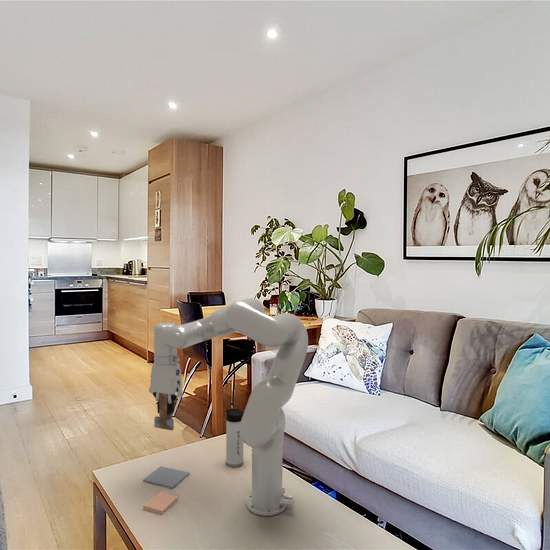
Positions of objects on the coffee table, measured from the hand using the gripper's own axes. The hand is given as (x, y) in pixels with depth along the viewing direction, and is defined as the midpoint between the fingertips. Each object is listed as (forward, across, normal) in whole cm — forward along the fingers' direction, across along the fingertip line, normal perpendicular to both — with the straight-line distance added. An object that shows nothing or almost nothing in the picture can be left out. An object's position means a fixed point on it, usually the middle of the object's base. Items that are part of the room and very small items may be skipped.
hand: (165, 412), depth 145 cm
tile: (+23, -8, +9) cm, 26 cm away
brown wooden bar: (+5, 0, 0) cm, 5 cm away
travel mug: (+24, -17, -18) cm, 34 cm away
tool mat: (+23, 0, -1) cm, 23 cm away
